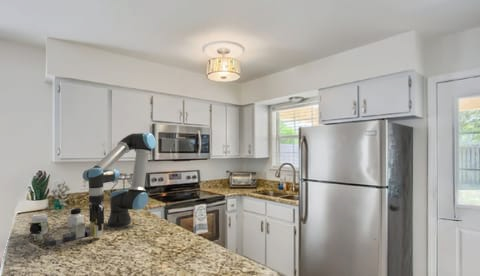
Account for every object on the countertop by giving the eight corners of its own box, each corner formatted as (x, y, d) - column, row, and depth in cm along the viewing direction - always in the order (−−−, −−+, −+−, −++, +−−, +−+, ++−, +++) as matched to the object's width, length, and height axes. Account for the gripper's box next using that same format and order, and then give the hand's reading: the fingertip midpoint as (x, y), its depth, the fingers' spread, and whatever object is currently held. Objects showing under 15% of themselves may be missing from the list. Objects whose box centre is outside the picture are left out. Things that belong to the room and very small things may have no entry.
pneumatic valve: (29, 243, 153) (29, 221, 154) (38, 237, 164) (38, 217, 165) (40, 242, 155) (40, 221, 155) (48, 236, 166) (49, 216, 166)
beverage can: (39, 236, 166) (39, 216, 166) (27, 236, 167) (28, 216, 168) (50, 232, 174) (51, 213, 174) (40, 232, 175) (40, 213, 176)
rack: (85, 233, 170) (85, 229, 170) (92, 236, 164) (92, 231, 165) (43, 243, 152) (43, 238, 153) (50, 247, 147) (50, 241, 147)
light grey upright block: (81, 235, 166) (81, 221, 166) (84, 236, 163) (84, 223, 163) (72, 237, 162) (72, 223, 162) (75, 239, 159) (75, 224, 159)
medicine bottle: (83, 225, 191) (83, 207, 192) (76, 227, 184) (76, 209, 185) (74, 224, 192) (74, 207, 192) (66, 227, 185) (67, 209, 185)
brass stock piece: (99, 233, 162) (98, 220, 162) (103, 235, 159) (103, 221, 159) (90, 236, 158) (90, 222, 158) (94, 237, 155) (94, 223, 155)
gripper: (82, 194, 161) (82, 234, 161) (97, 197, 151) (97, 240, 150) (95, 192, 167) (96, 230, 167) (110, 195, 156) (111, 236, 156)
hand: (96, 235), depth 159 cm, fingers closed on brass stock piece, 5 cm apart
